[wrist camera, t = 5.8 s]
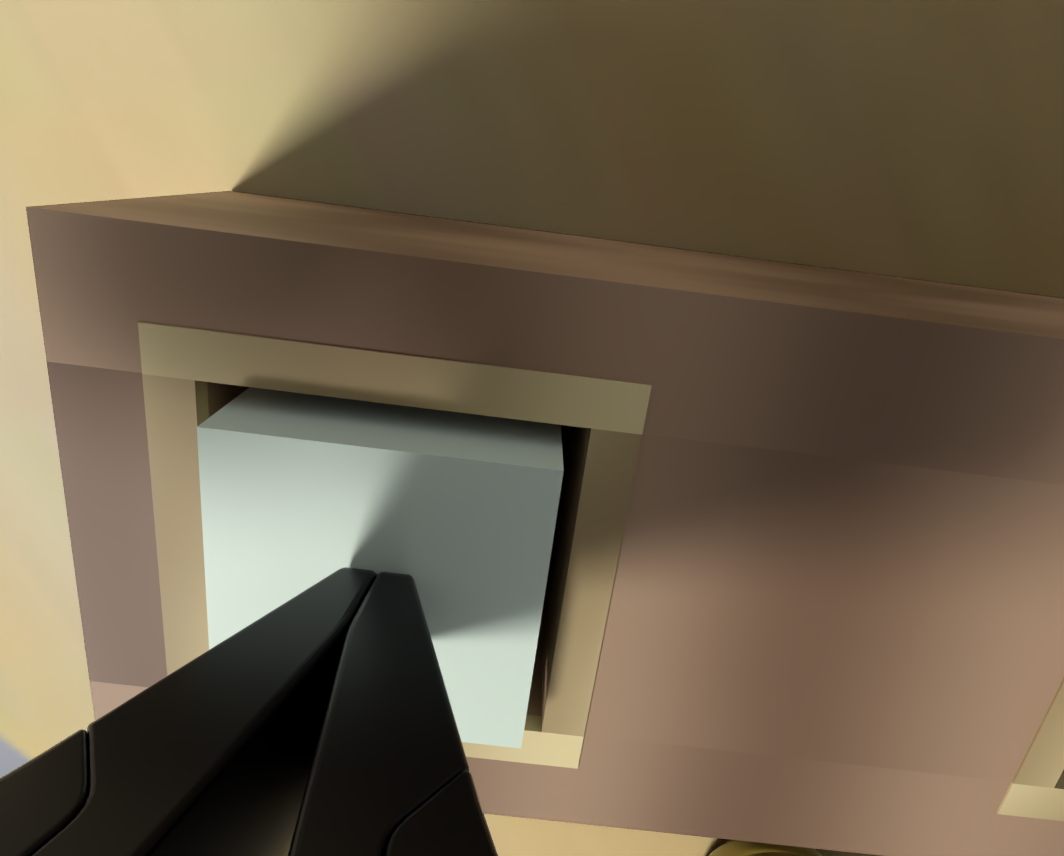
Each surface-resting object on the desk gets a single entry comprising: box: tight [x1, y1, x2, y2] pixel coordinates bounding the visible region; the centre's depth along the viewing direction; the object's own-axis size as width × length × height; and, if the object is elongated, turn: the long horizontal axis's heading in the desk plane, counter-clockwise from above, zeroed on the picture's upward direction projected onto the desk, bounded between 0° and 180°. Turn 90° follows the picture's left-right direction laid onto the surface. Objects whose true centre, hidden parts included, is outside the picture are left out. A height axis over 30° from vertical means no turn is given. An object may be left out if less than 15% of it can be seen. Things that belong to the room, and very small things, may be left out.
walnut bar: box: [26, 191, 1064, 856], centre depth 11 cm, size 20×8×5 cm, turn 83°
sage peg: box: [197, 387, 564, 748], centre depth 10 cm, size 4×4×5 cm
